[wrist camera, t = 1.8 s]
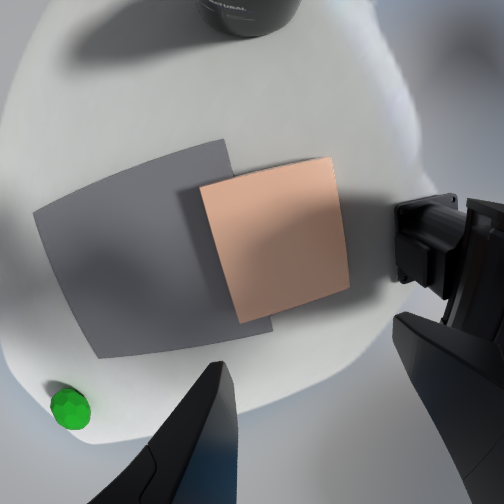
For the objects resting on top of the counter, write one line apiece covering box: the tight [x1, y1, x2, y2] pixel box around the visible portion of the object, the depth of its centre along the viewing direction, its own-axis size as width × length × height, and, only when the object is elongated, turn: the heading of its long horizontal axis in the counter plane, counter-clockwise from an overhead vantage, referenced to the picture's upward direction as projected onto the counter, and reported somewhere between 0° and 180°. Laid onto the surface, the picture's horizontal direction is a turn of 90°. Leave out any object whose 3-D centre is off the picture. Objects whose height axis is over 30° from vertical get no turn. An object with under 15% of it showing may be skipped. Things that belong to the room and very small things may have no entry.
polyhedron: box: [50, 389, 91, 430], centre depth 22 cm, size 5×5×5 cm
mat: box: [33, 139, 273, 359], centre depth 19 cm, size 16×14×1 cm
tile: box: [200, 157, 350, 324], centre depth 18 cm, size 2×9×8 cm
